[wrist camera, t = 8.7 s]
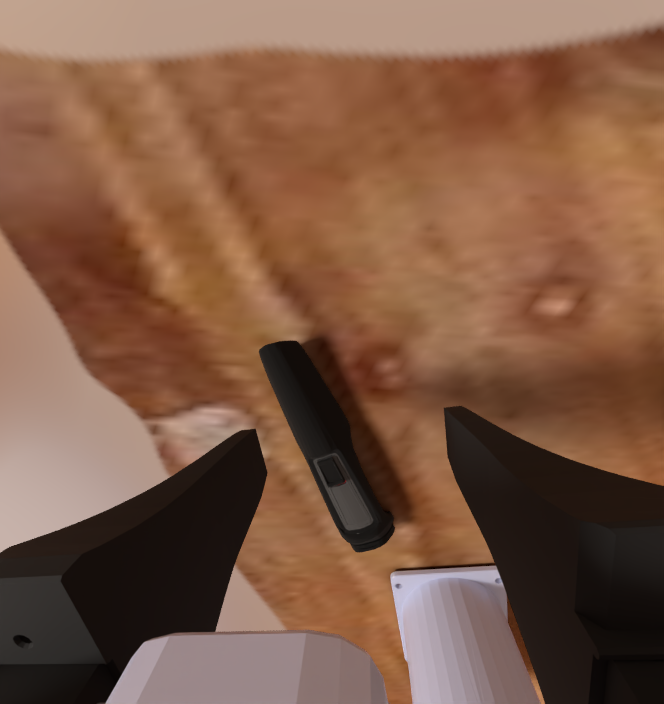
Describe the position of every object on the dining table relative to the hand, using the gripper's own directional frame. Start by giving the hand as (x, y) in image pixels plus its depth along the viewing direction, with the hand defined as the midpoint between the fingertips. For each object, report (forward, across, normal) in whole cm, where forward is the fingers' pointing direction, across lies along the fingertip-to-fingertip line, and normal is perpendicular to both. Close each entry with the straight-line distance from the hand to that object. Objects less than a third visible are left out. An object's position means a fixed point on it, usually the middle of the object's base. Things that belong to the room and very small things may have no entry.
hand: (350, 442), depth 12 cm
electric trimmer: (+8, +2, +5) cm, 10 cm away
